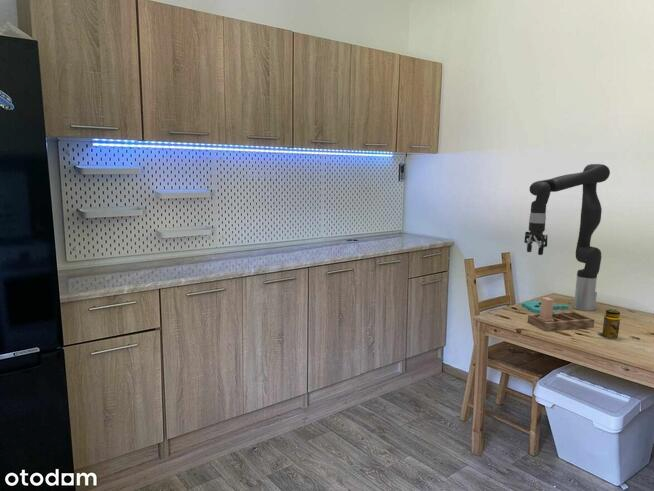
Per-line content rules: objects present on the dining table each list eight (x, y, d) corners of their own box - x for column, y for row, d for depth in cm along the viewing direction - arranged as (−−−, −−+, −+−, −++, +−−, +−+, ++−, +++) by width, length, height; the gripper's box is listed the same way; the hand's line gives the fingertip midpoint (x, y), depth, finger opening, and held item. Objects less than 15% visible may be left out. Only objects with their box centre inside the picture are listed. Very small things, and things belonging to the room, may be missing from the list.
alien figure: (568, 309, 253) (529, 302, 265) (568, 305, 252) (529, 298, 265) (558, 318, 238) (517, 310, 250) (558, 313, 237) (517, 306, 250)
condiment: (619, 340, 206) (622, 314, 204) (596, 337, 210) (599, 311, 208) (618, 335, 212) (621, 309, 210) (596, 332, 216) (599, 306, 214)
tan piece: (536, 321, 226) (539, 297, 224) (545, 321, 227) (547, 296, 225) (545, 325, 220) (547, 300, 218) (553, 325, 221) (556, 300, 219)
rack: (572, 318, 235) (573, 311, 235) (593, 327, 223) (594, 319, 222) (527, 322, 229) (528, 314, 228) (546, 331, 217) (546, 323, 216)
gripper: (553, 223, 235) (550, 255, 238) (534, 220, 249) (531, 250, 251) (540, 223, 233) (537, 256, 236) (521, 220, 247) (519, 251, 249)
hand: (534, 253), depth 243 cm, fingers open, 8 cm apart
